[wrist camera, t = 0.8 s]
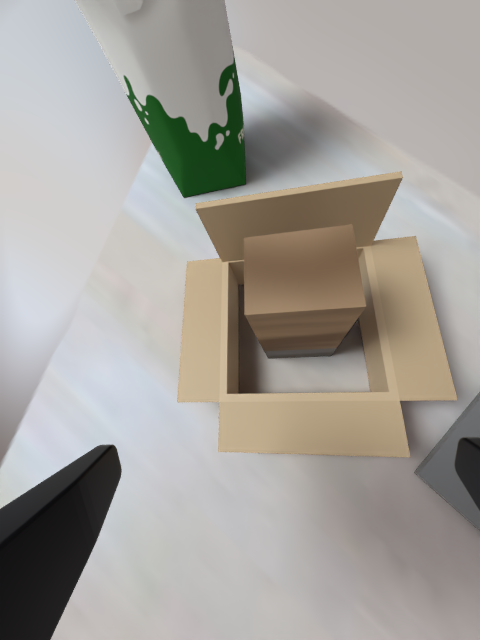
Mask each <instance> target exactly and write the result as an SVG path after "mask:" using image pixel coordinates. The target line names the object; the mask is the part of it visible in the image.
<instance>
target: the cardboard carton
mask: <svg viewBox="0 0 480 640" xmlns="http://www.w3.org/2000/svg"><path fill="white" fill-rule="evenodd" d="M402 178H403V176H402V172H395V173H388V174H382V175H375V176H369V177H362V178H356V179H350V180H343V181H337V182H330V183H324V184H317V185H311V186H305V187H298V188H292V189H285V190H279V191H272V192H266V193H259V194H253V195H247V196H240V197H234V198H227V199H221V200H214V201H208V202H202V203H196V211H197V213H198V215H199V217H200V219H201V221H202V223H203V225H204V227H205V229H206V231H207V233H208V235H209V237H210V239H211V241H212V243H213V245H214V247H215V249H216V251H217V253H218V255H219V257H220V258H216V259H208V260H199V261H190V262H187V269H186V284H185V298H184V312H183V326H182V341H181V355H180V369H179V384H178V398H177V402H219V440H218V452H243V453H277V454H311V455H344V456H378V457H410V452H409V447H408V441H407V436H406V431H405V425H404V420H403V415H402V409H401V404H400V401H431V400H458V399H457V396H456V392H455V388H454V384H453V380H452V376H451V372H450V368H449V364H448V360H447V356H446V352H445V349H444V345H443V341H442V337H441V333H440V329H439V325H438V321H437V317H436V313H435V309H434V306H433V302H432V298H431V294H430V290H429V286H428V282H427V278H426V274H425V270H424V266H423V262H422V259H421V255H420V251H419V247H418V243H417V239H416V236H412V237H403V238H394V239H385V240H376V241H373V240H374V238H375V236H376V234H377V232H378V229H379V227H380V225H381V223H382V221H383V219H384V217H385V215H386V212H387V210H388V208H389V206H390V204H391V202H392V200H393V198H394V195H395V193H396V191H397V189H398V187H399V185H400V183H401V181H402ZM350 224H353V230H354V236H355V242H356V248H357V254H358V260H359V266H360V272H361V278H362V284H363V290H364V296H365V302H366V308H365V309H364V311H363V312H362V313H361V315H360V316H359V321H360V328H361V334H362V341H363V347H364V353H365V360H366V366H367V373H368V379H369V386H370V392H344V393H265V394H239V285H241V284H244V238H246V237H254V236H262V235H270V234H278V233H286V232H294V231H302V230H310V229H318V228H326V227H334V226H342V225H350Z"/></svg>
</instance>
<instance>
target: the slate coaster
mask: <svg viewBox="0 0 480 640" xmlns="http://www.w3.org/2000/svg"><path fill="white" fill-rule="evenodd" d="M463 437H480V392H479V394H478V395H477V396H476V397H475V399H474V400H473V401H472V402H471V403H470V405H469V406H468V407H467V408H466V410H465V411H464V412H463V413H462V414H461V416H460V417H459V418H458V419H457V421H456V422H455V423H454V424H453V426H452V427H451V428H450V429H449V430H448V432H447V433H446V434H445V435H444V437H443V438H442V439H441V440H440V441H439V443H438V444H437V445H436V446H435V448H434V449H433V450H432V451H431V452H430V454H429V455H428V456H427V457H426V459H425V460H424V461H423V462H422V463H421V465H420V466H419V467H418V468H417V470H416V471H415V472H414V473H415V474H416V475H418V476H419V477H420V478H421V479H422V480H423V481H424V482H425V483H427V484H428V485H429V486H430V487H431V488H432V489H433V490H434V491H435V492H437V493H438V494H439V495H440V496H441V497H442V498H443V499H444V500H446V501H447V502H448V503H449V504H450V505H451V506H452V507H453V508H455V509H456V510H457V511H458V512H459V513H460V514H461V515H462V516H463V517H465V518H466V519H467V520H468V521H469V522H470V523H471V524H472V525H474V526H475V527H476V528H477V529H478V530H479V531H480V511H479V509H478V508H477V506H476V504H475V503H474V501H473V500H472V498H471V496H470V495H469V493H468V491H467V490H466V488H465V486H464V485H463V483H462V481H461V480H460V478H459V477H458V475H457V473H456V470H455V465H454V462H455V457H456V451H457V445H458V441H459V439H460V438H463Z"/></svg>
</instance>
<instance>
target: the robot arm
mask: <svg viewBox="0 0 480 640" xmlns="http://www.w3.org/2000/svg"><path fill="white" fill-rule="evenodd" d="M454 465H455V470H456V473H457V475H458V477H459V478H460V480H461V481H462V483H463V485H464V486H465V488H466V490H467V491H468V493H469V495H470V496H471V498H472V500H473V501H474V503H475V504H476V506H477V508H478V509H479V511H480V437H463V438H460V439H459V441H458V445H457V451H456V457H455V462H454ZM120 477H121V464H120V460H119V456H118V452H117V448H116V447H115V446H114V445H99V446H97V447H95V448H94V449H92V450H91V451H89V452H88V453H86V454H85V455H83V456H82V457H80V458H78V459H77V460H75V461H74V462H72V463H71V464H69V465H68V466H66V467H64V468H63V469H61V470H60V471H58V472H57V473H55V474H54V475H52V476H51V477H49V478H47V479H46V480H44V481H43V482H41V483H40V484H38V485H37V486H35V487H33V488H32V489H30V490H29V491H27V492H26V493H24V494H23V495H21V496H20V497H18V498H16V499H15V500H13V501H12V502H10V503H9V504H7V505H6V506H4V507H3V508H1V509H0V640H50V639H51V637H52V635H53V633H54V631H55V629H56V626H57V624H58V622H59V620H60V618H61V616H62V614H63V612H64V609H65V607H66V605H67V603H68V601H69V599H70V597H71V595H72V592H73V590H74V588H75V586H76V584H77V582H78V580H79V578H80V576H81V573H82V571H83V569H84V567H85V565H86V563H87V561H88V559H89V556H90V554H91V552H92V550H93V548H94V545H95V543H96V541H97V538H98V536H99V533H100V531H101V528H102V526H103V523H104V520H105V518H106V515H107V512H108V510H109V507H110V504H111V502H112V499H113V496H114V494H115V491H116V488H117V486H118V483H119V480H120Z"/></svg>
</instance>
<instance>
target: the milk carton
mask: <svg viewBox="0 0 480 640" xmlns="http://www.w3.org/2000/svg"><path fill="white" fill-rule="evenodd" d="M75 2H76V4H77V5H78V7H79V9H80V10H81V12H82V14H83V16H84V17H85V19H86V21H87V23H88V24H89V26H90V28H91V30H92V32H93V33H94V35H95V37H96V39H97V41H98V43H99V45H100V46H101V48H102V50H103V52H104V54H105V55H106V57H107V60H108V61H109V63H110V65H111V67H112V69H113V71H114V72H115V74H116V76H117V78H118V80H119V82H120V84H121V85H122V87H123V89H124V91H125V93H126V95H127V97H128V98H129V100H130V102H131V104H132V106H133V108H134V109H135V111H136V113H137V115H138V117H139V119H140V121H141V122H142V124H143V126H144V128H145V130H146V131H147V133H148V135H149V137H150V139H151V141H152V143H153V145H154V146H155V148H156V150H157V152H158V154H159V155H160V157H161V159H162V161H163V162H164V164H165V166H166V168H167V169H168V171H169V173H170V175H171V176H172V178H173V180H174V182H175V183H176V185H177V187H178V188H179V190H180V192H181V194H182V196H183V197H188V196H193V195H198V194H202V193H207V192H212V191H216V190H221V189H226V188H230V187H235V186H240V185H244V184H246V175H245V145H244V123H243V112H242V102H241V93H240V87H239V81H238V75H237V70H236V64H235V58H234V52H233V46H232V41H231V35H230V29H229V23H228V18H227V12H226V6H225V1H224V0H75Z"/></svg>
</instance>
